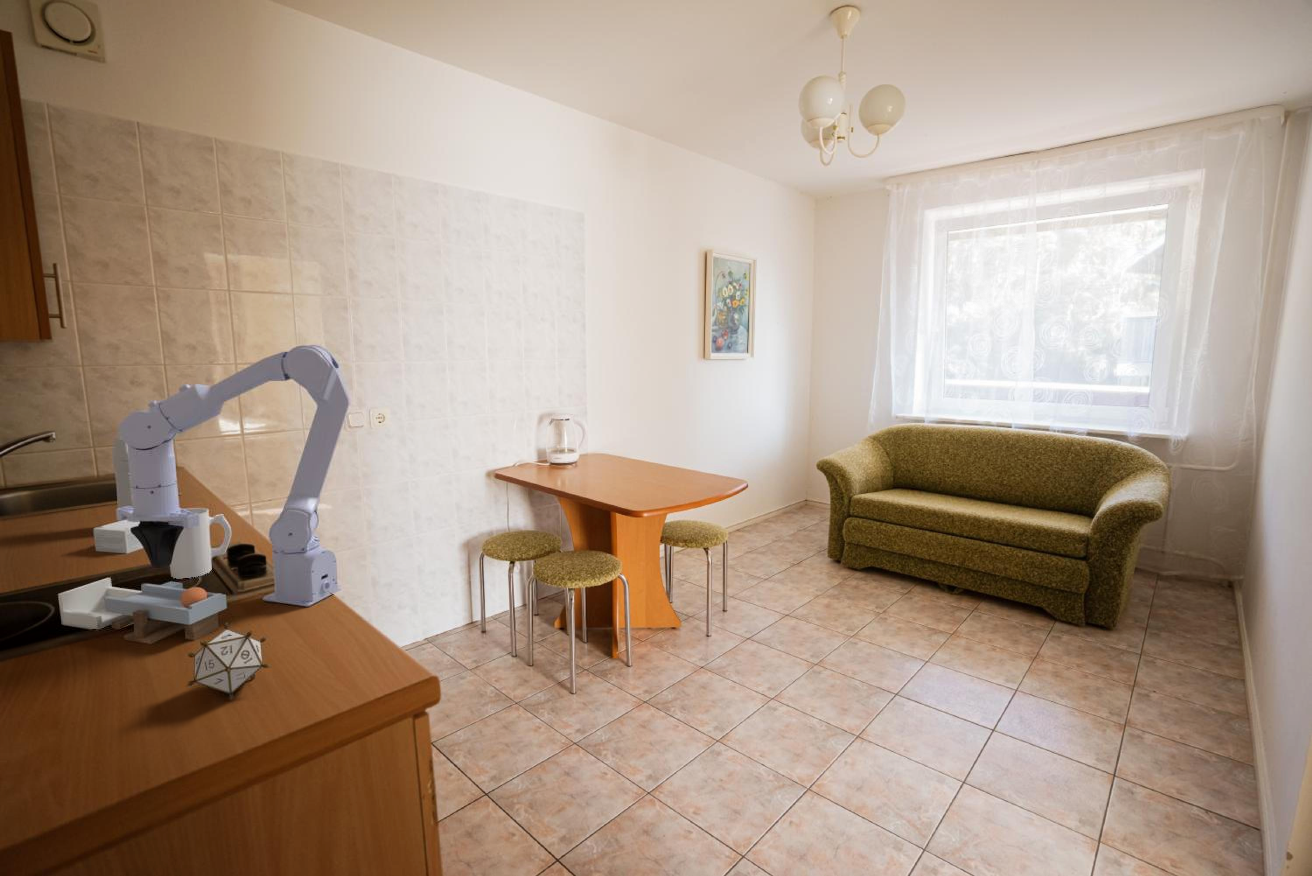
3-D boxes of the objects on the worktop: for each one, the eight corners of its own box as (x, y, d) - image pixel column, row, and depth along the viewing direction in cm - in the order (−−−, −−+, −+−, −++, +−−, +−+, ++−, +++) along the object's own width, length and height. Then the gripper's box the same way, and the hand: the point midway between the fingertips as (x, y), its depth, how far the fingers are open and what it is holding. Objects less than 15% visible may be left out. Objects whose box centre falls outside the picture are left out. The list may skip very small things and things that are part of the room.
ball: (213, 605, 93) (211, 585, 93) (193, 613, 90) (191, 593, 90) (196, 602, 94) (194, 582, 94) (176, 611, 91) (174, 590, 91)
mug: (168, 582, 111) (162, 519, 110) (169, 571, 117) (163, 511, 115) (235, 571, 118) (230, 511, 116) (233, 561, 123) (228, 504, 121)
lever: (249, 598, 99) (248, 582, 98) (189, 624, 89) (188, 607, 89) (171, 587, 102) (169, 572, 102) (105, 611, 92) (103, 595, 92)
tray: (146, 611, 99) (142, 582, 99) (98, 630, 93) (94, 599, 92) (111, 606, 101) (107, 577, 100) (61, 624, 94) (58, 594, 94)
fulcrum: (233, 621, 97) (231, 595, 96) (176, 648, 88) (174, 619, 87) (159, 610, 100) (156, 584, 100) (96, 635, 91) (93, 607, 91)
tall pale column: (148, 530, 141) (138, 436, 138) (125, 534, 138) (114, 438, 135) (135, 521, 147) (125, 432, 144) (112, 525, 144) (102, 433, 141)
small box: (162, 542, 133) (159, 520, 133) (126, 554, 126) (123, 530, 125) (131, 540, 134) (129, 518, 134) (94, 551, 127) (91, 528, 126)
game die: (225, 711, 80) (221, 635, 83) (287, 688, 80) (280, 614, 84) (168, 715, 71) (166, 631, 75) (237, 689, 72) (232, 607, 75)
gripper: (91, 486, 95) (100, 569, 97) (165, 493, 92) (172, 579, 94) (139, 477, 102) (146, 555, 104) (209, 484, 99) (215, 564, 101)
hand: (162, 565), depth 99 cm, fingers closed
